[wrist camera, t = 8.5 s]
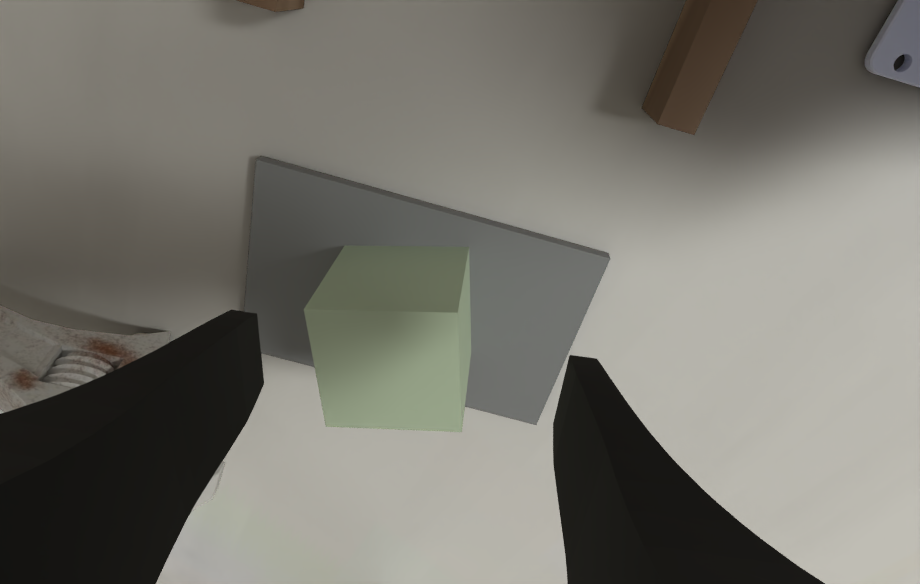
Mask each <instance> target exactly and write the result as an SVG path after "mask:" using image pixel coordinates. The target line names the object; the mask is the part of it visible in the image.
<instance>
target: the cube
mask: <svg viewBox="0 0 920 584" xmlns="http://www.w3.org/2000/svg"><path fill="white" fill-rule="evenodd" d="M304 313H305V319H306V324H307V329H308V334H309V340H310V345H311V350H312V356H313V361H314V366H315V372H316V377H317V382H318V388H319V393H320V398H321V403H322V409H323V414H324V419H325V425H326V427H349V428H374V429H398V430H423V431H448V432H462V426H463V417H464V409H465V400H466V392H467V384H468V375H469V367H470V358H471V313H470V266H469V247H435V246H346V245H345V246H344V247H343V249H342V250H341V252H340V254H339V255H338V257H337V258H336V260H335V261H334V263H333V265H332V266H331V268H330V269H329V271H328V272H327V274H326V275H325V277H324V279H323V280H322V282H321V283H320V285H319V286H318V288H317V290H316V291H315V293H314V294H313V296H312V297H311V299H310V300H309V302H308V304H307V305H306V307H305V308H304Z"/></svg>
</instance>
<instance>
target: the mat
mask: <svg viewBox="0 0 920 584" xmlns="http://www.w3.org/2000/svg"><path fill="white" fill-rule="evenodd" d="M345 245H346V246H435V247H469V266H470V313H471V358H470V367H469V375H468V384H467V392H466V400H465V407H469V408H473V409H477V410H480V411H484V412H488V413H492V414H496V415H500V416H503V417H507V418H511V419H515V420H519V421H522V422H526V423H530V424H534V425H536V424H537V422H538V420H539V417H540V415H541V413H542V411H543V408H544V406H545V404H546V402H547V399H548V397H549V395H550V393H551V391H552V388H553V386H554V384H555V382H556V379H557V377H558V375H559V373H560V370H561V368H562V366H563V364H564V361H565V359H566V357H567V355H568V352H569V350H570V348H571V346H572V343H573V341H574V339H575V337H576V334H577V332H578V330H579V328H580V325H581V323H582V321H583V319H584V316H585V314H586V312H587V310H588V307H589V305H590V303H591V301H592V298H593V296H594V294H595V292H596V289H597V287H598V285H599V283H600V281H601V278H602V276H603V274H604V272H605V269H606V267H607V265H608V263H609V260H610V256H609V253H606V252H603V251H599V250H595V249H592V248H588V247H585V246H581V245H578V244H574V243H570V242H567V241H563V240H560V239H556V238H553V237H549V236H545V235H542V234H538V233H535V232H531V231H528V230H524V229H520V228H517V227H513V226H510V225H506V224H503V223H499V222H495V221H492V220H488V219H485V218H481V217H478V216H474V215H470V214H467V213H463V212H460V211H456V210H453V209H449V208H445V207H442V206H438V205H435V204H431V203H428V202H424V201H420V200H417V199H413V198H410V197H406V196H403V195H399V194H396V193H392V192H388V191H385V190H381V189H378V188H374V187H371V186H367V185H363V184H360V183H356V182H353V181H349V180H346V179H342V178H338V177H335V176H331V175H328V174H324V173H321V172H317V171H313V170H310V169H306V168H303V167H299V166H296V165H292V164H288V163H285V162H281V161H278V160H274V159H271V158H267V157H263V156H260V157H259V158H257V159H256V165H255V178H254V190H253V203H252V216H251V228H250V241H249V254H248V266H247V279H246V291H245V304H244V312H250V313H257V317H258V327H259V338H260V348H261V353H263V354H267V355H270V356H274V357H278V358H282V359H286V360H290V361H293V362H297V363H301V364H305V365H309V366H312V367H315V366H314V361H313V356H312V350H311V345H310V340H309V334H308V329H307V324H306V319H305V313H304V308H305V307H306V305H307V304H308V302H309V300H310V299H311V297H312V296H313V294H314V293H315V291H316V290H317V288H318V286H319V285H320V283H321V282H322V280H323V279H324V277H325V275H326V274H327V272H328V271H329V269H330V268H331V266H332V265H333V263H334V261H335V260H336V258H337V257H338V255H339V254H340V252H341V250H342V249H343V247H344V246H345Z"/></svg>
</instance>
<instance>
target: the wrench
mask: <svg viewBox="0 0 920 584" xmlns="http://www.w3.org/2000/svg"><path fill="white" fill-rule="evenodd" d="M170 334H171V332H170V331H167V332H159V333H150V334H146V333H135V334H133V335H122V334H113V333H103V332H94V331H85V330H76V329H71V328H67V327H62V326H58V325H54V324H49V323H45V322H41V321H37V320H32V319H30V318H28V317H26V316H24V315H21V314H19V313H17V312H15V311H13V310H10V309H8V308H6V307H4V306H2V305H0V409H1V410H2V411H3V412H4V413H5V412H8V411H11V410H14V409H17V408H20V407H23V406H26V405H29V404H32V403H35V402H38V401H41V400H44V399H47V398H49V397H52V396H55V395H58V394H60V393H63V392H65V391H68V390H70V389H73V388H75V387H78V386H80V385H83V384H85V383H87V382H90V381H92V380H94V379H97V378H99V377H101V376H103V375H106V374H108V373H110V372H112V371H114V370H116V369H118V368H120V367H122V366H124V365H126V364H128V363H131V362H133V361H135V360H137V359H139V358H141V357H143V356H145V355H147V354H149V353H151V352H153V351H155V350H157V349H159V348H160V347H162V346H164V345H166V344H168V343H169V340H170ZM224 465H225V462H223V461H222V462H221V464H220V466H219V467H218V469H217V470H216V472H215V474H214V475H213V477H212V478H211V480H210V481H209V483H208V485H207V486H206V488H205V489H204V491H203V493H202V494H201V496H200V497H199V499H198V500H197V502H196V504H195V506H194V507H193V509H192V511H193V510H195V509H197V508H198V507H200V506H202V505H203V504H205V503H207V502H209V501H210V500H212V499H213V497H214V495H215V493H216V491H217V488H218V486H219V482H220V479H221V475H222V472H223V468H224Z"/></svg>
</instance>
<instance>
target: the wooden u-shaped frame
mask: <svg viewBox="0 0 920 584" xmlns="http://www.w3.org/2000/svg"><path fill="white" fill-rule="evenodd" d="M237 1H240V2H244V3H247V4H250V5H254V6H257V7H261V8H264V9H267V10H271V11H274V12H279V11H286V10H293V9H301V8H304V0H237ZM757 1H758V0H686V2H685V5H684V7H683V9H682V12H681V14H680V17H679V19H678V21H677V24H676V26H675V29H674V31H673V34H672V36H671V38H670V41H669V43H668V46H667V48H666V50H665V53H664V55H663V58H662V60H661V63H660V65H659V67H658V70H657V72H656V75H655V77H654V79H653V82H652V84H651V87H650V89H649V91H648V94H647V96H646V99H645V101H644V104H643V106H642V109H643V110H644V111H645V112H646V113H647V114H648V115H649V116H650V117H651V118H652V119H653V120H654V121H655V122H656V123H657V124H659V125H662V126H666V127H669V128H672V129H676V130H679V131H683V132H686V133H689V134H693V135H694V134H695V132H696V130H697V128H698V126H699V124H700V122H701V120H702V117H703V115H704V113H705V111H706V109H707V107H708V105H709V103H710V100H711V98H712V96H713V94H714V92H715V90H716V88H717V86H718V83H719V81H720V79H721V77H722V75H723V73H724V71H725V69H726V66H727V64H728V62H729V60H730V58H731V56H732V54H733V52H734V50H735V47H736V45H737V43H738V41H739V39H740V37H741V35H742V33H743V30H744V28H745V26H746V24H747V22H748V20H749V18H750V16H751V13H752V11H753V9H754V7H755V5H756V3H757Z"/></svg>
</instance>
